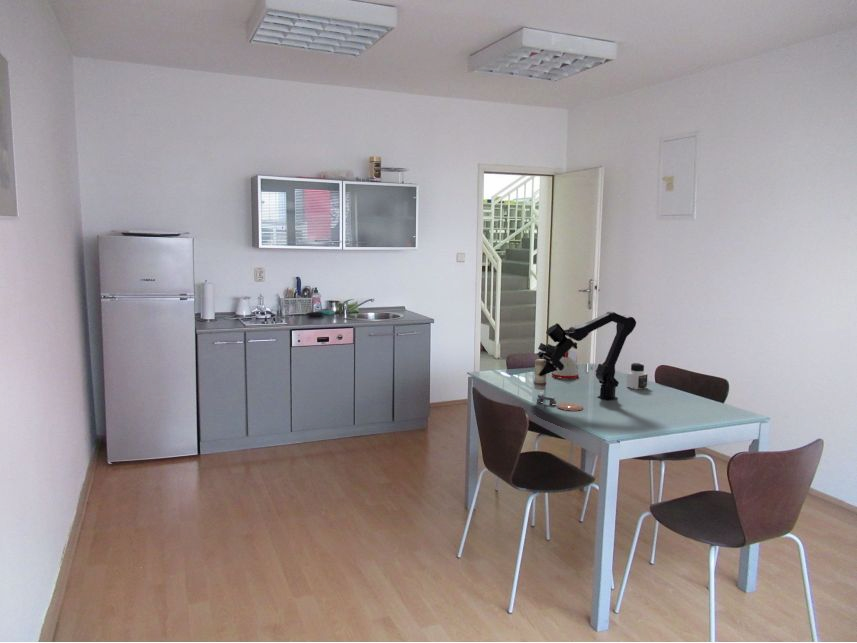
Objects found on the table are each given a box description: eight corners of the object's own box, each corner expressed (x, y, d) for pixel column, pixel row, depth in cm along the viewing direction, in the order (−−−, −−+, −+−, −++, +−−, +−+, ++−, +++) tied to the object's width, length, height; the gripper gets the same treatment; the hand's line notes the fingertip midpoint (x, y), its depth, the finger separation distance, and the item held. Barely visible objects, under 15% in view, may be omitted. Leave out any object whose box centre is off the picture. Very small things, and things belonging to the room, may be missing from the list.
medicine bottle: (638, 390, 310) (639, 365, 309) (625, 387, 316) (627, 363, 315) (647, 387, 315) (648, 364, 313) (634, 385, 320) (636, 361, 319)
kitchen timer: (554, 379, 333) (555, 350, 331) (549, 373, 347) (549, 346, 345) (581, 378, 334) (582, 350, 332) (574, 373, 347) (575, 346, 345)
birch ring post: (537, 386, 290) (538, 358, 289) (548, 388, 287) (549, 359, 285) (531, 388, 286) (532, 360, 284) (542, 390, 283) (543, 361, 281)
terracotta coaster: (570, 403, 285) (570, 401, 285) (588, 408, 276) (588, 407, 276) (551, 406, 280) (551, 405, 280) (569, 412, 270) (569, 411, 270)
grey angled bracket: (541, 398, 294) (541, 391, 293) (560, 404, 283) (560, 397, 283) (529, 399, 290) (529, 393, 290) (548, 406, 279) (548, 399, 279)
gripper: (541, 333, 293) (518, 358, 292) (558, 340, 275) (533, 366, 274) (557, 350, 296) (534, 374, 295) (574, 357, 278) (550, 383, 277)
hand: (537, 374), depth 285 cm, fingers closed on birch ring post, 5 cm apart
